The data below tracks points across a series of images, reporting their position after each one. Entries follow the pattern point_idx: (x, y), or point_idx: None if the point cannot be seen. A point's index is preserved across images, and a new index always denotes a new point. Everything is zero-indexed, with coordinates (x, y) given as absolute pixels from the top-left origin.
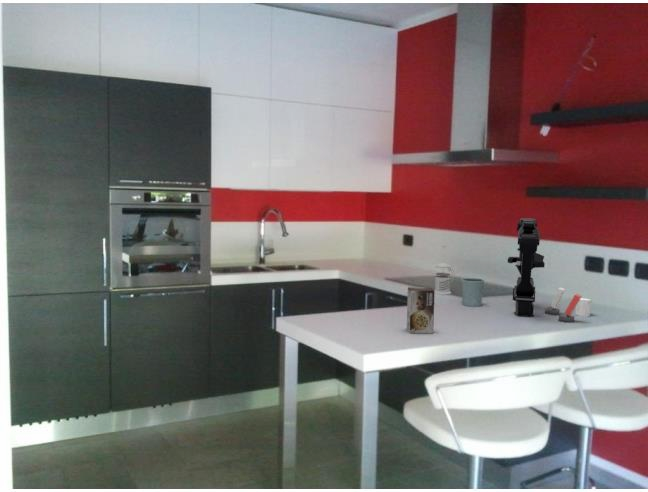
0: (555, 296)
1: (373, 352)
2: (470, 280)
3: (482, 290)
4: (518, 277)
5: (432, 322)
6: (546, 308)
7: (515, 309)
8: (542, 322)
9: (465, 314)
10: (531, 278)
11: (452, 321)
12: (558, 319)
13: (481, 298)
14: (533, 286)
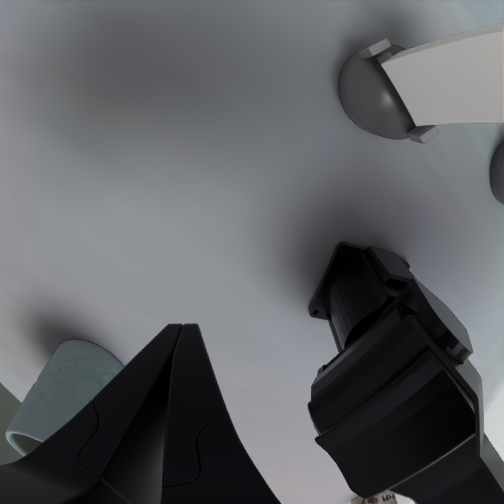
0: (490, 118)
1: (411, 501)
2: (16, 434)
3: (78, 405)
4: (363, 496)
5: (395, 499)
6: (361, 109)
7: (332, 330)
8: (481, 288)
9: (269, 444)
10: (470, 435)
11: (335, 470)
12: (499, 200)
13: (96, 377)
14: (481, 384)
